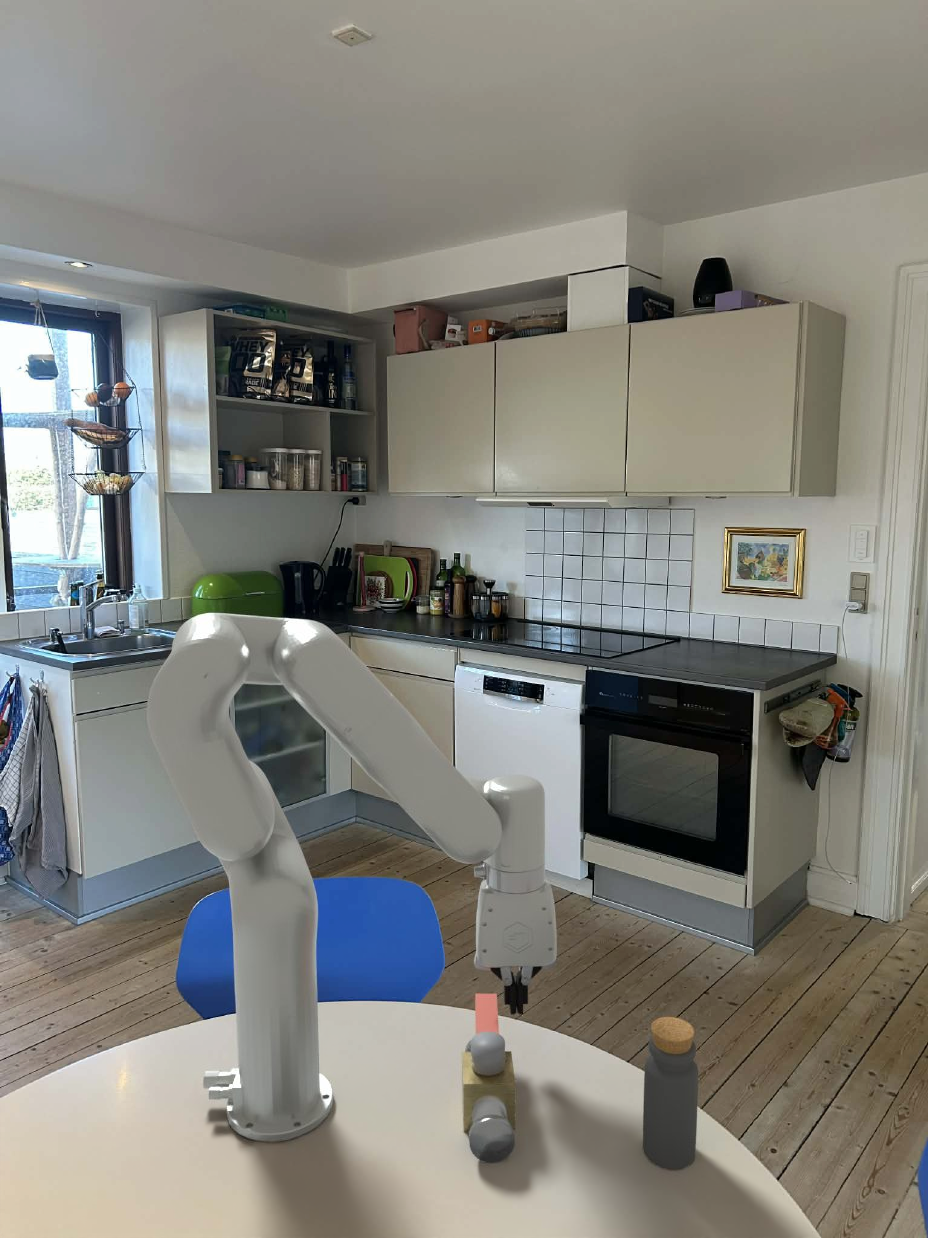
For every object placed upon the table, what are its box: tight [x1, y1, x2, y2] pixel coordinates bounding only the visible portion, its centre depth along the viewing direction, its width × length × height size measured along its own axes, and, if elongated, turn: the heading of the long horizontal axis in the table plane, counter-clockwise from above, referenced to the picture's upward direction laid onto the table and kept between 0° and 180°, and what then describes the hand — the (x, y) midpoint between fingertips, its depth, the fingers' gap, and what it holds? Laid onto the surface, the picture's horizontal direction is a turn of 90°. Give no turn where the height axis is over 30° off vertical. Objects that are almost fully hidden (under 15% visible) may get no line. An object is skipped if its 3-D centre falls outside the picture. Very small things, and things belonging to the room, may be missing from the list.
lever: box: [470, 993, 506, 1076], centre depth 113 cm, size 14×4×3 cm, turn 0°
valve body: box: [461, 1038, 516, 1164], centre depth 109 cm, size 6×16×6 cm, turn 2°
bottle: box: [642, 1016, 699, 1171], centre depth 102 cm, size 6×6×15 cm
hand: (515, 1008), depth 118 cm, fingers closed
